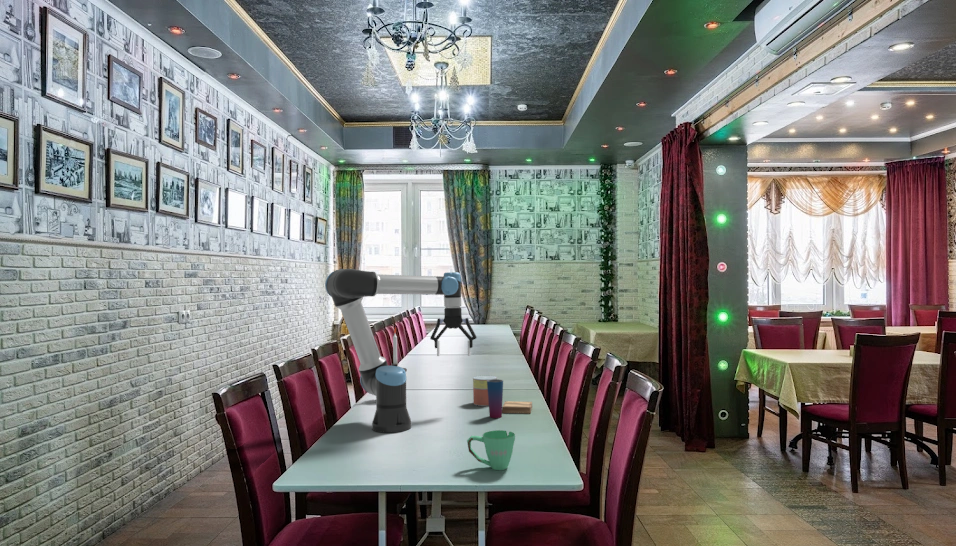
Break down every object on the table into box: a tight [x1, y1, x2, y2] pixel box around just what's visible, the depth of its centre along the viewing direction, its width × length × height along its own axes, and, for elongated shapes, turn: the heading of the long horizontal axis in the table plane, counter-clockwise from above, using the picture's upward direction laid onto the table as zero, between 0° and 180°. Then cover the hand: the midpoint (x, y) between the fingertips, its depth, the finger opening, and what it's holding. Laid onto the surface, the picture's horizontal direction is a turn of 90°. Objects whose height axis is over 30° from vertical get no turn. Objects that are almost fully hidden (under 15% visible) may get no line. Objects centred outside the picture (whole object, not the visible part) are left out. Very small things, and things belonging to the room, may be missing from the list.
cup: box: [487, 378, 504, 419], centre depth 244 cm, size 7×7×15 cm
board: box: [502, 400, 533, 414], centre depth 255 cm, size 12×12×3 cm
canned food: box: [472, 375, 498, 407], centre depth 271 cm, size 11×11×12 cm
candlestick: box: [391, 327, 408, 372], centre depth 285 cm, size 11×11×35 cm
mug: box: [466, 429, 516, 471], centre depth 177 cm, size 15×10×10 cm
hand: (453, 355), depth 257 cm, fingers open, 13 cm apart
